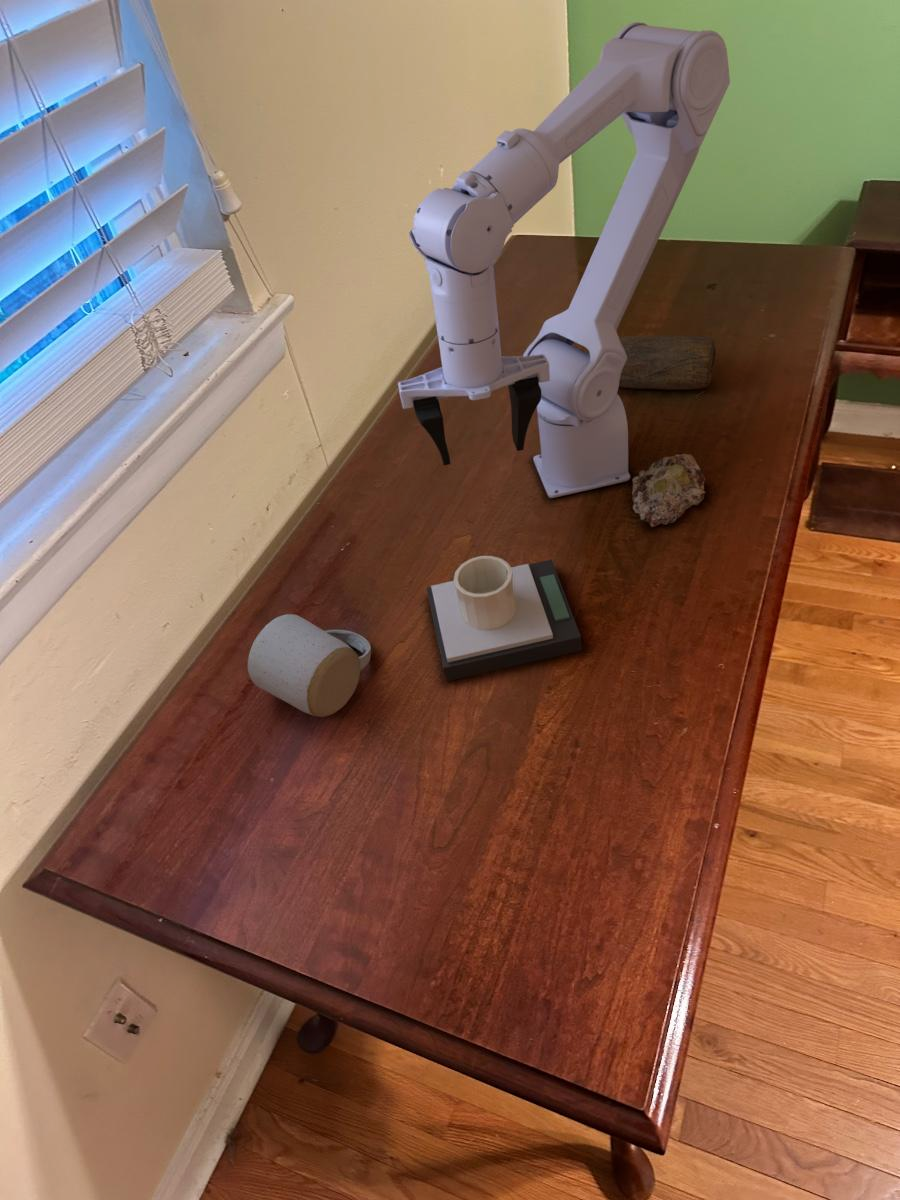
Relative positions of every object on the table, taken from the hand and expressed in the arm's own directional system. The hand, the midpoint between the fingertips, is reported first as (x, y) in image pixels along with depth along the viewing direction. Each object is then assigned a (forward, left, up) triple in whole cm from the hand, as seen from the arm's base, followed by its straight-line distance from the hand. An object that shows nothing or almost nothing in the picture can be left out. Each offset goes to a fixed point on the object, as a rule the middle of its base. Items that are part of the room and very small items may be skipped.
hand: (482, 452), depth 88 cm
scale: (+2, +16, -9) cm, 18 cm away
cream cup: (+3, +16, -7) cm, 17 cm away
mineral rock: (-19, +3, -10) cm, 21 cm away
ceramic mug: (+20, +18, -10) cm, 28 cm away
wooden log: (-25, -19, -10) cm, 33 cm away
